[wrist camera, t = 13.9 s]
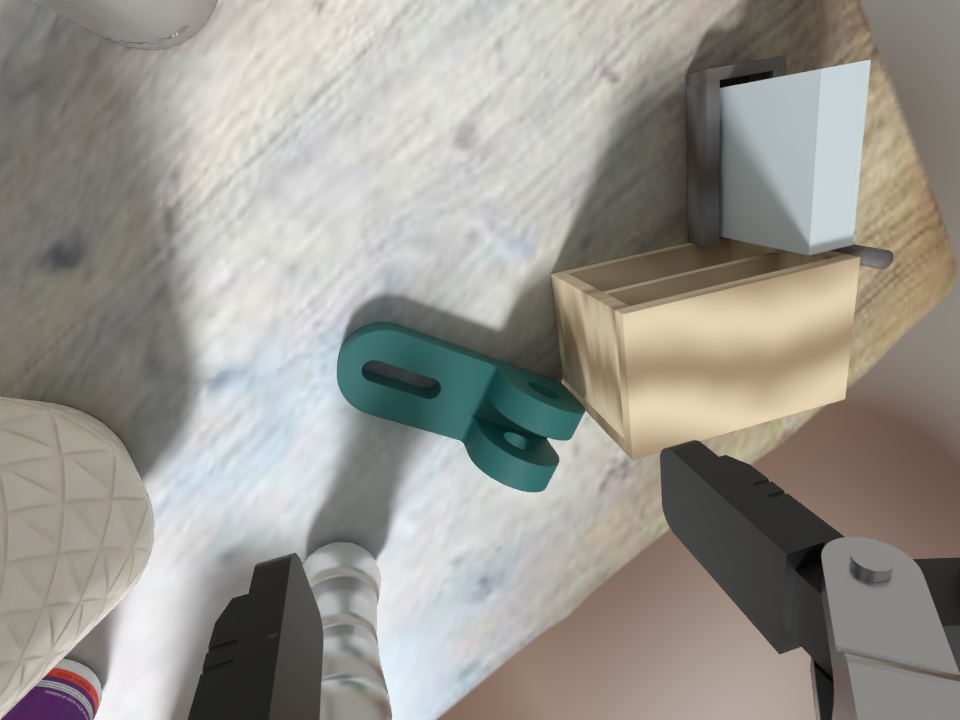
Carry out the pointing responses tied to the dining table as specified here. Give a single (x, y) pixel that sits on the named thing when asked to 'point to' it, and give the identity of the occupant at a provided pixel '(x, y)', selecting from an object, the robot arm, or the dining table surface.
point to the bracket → (463, 401)
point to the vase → (62, 535)
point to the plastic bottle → (348, 632)
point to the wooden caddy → (707, 315)
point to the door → (793, 158)
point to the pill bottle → (61, 695)
